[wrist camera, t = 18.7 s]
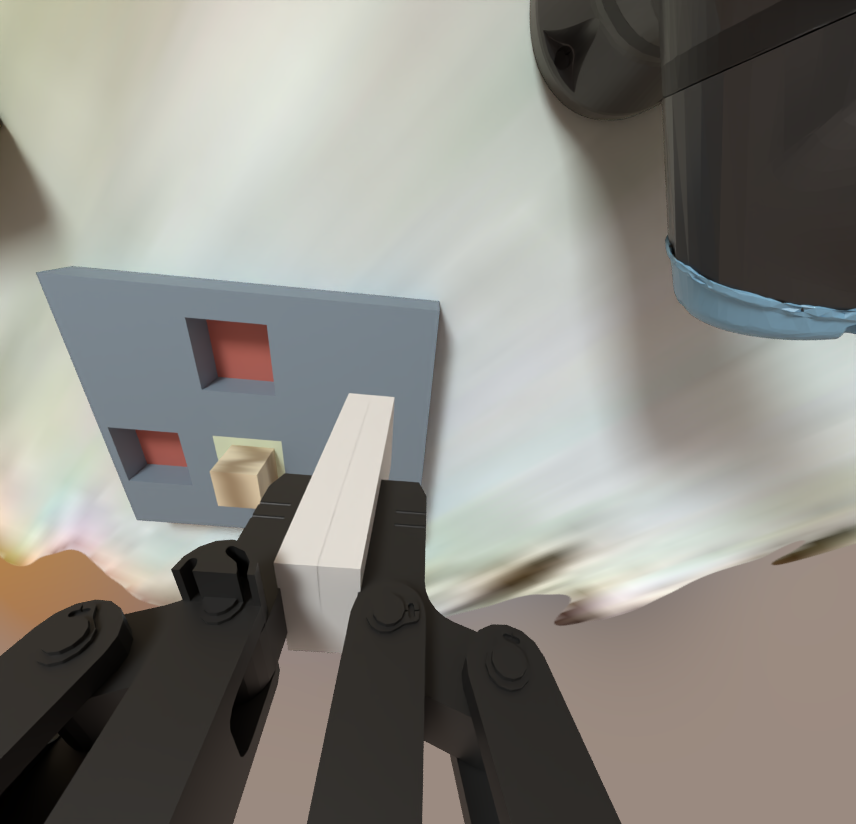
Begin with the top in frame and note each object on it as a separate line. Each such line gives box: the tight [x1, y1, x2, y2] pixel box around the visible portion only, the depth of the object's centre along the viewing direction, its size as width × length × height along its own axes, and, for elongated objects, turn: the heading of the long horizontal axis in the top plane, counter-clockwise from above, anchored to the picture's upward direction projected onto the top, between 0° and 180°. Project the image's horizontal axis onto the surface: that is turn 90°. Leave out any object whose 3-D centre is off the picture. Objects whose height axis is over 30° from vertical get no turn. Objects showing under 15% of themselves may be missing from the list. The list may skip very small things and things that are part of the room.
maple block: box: [210, 445, 278, 509], centre depth 43 cm, size 5×5×5 cm
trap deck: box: [36, 266, 440, 528], centre depth 45 cm, size 38×32×4 cm
